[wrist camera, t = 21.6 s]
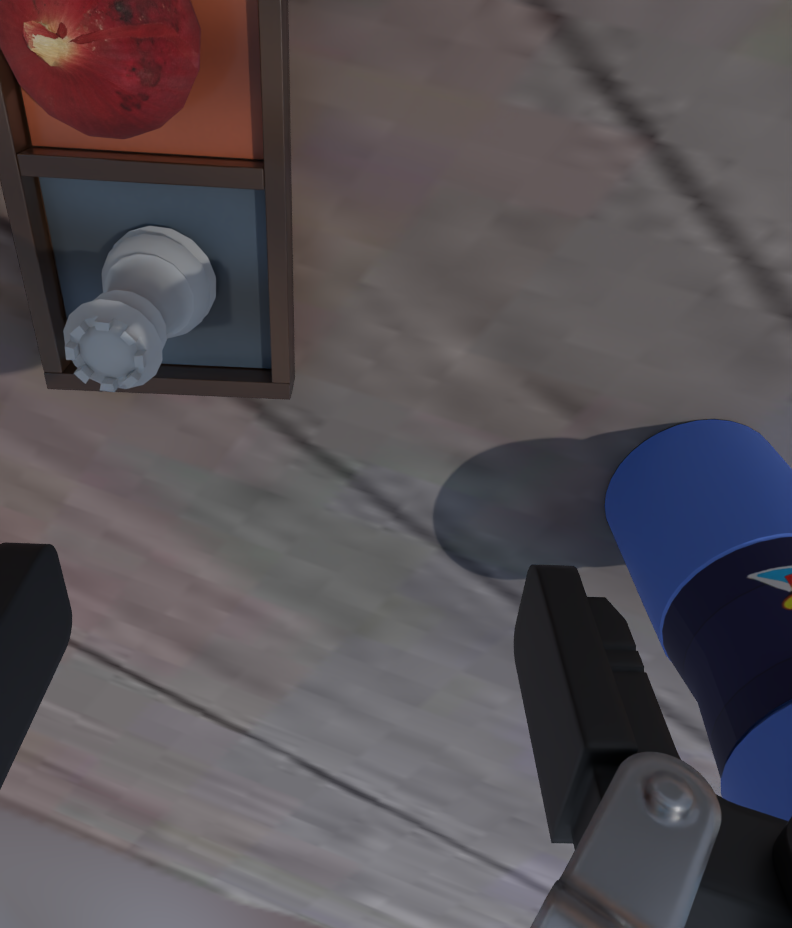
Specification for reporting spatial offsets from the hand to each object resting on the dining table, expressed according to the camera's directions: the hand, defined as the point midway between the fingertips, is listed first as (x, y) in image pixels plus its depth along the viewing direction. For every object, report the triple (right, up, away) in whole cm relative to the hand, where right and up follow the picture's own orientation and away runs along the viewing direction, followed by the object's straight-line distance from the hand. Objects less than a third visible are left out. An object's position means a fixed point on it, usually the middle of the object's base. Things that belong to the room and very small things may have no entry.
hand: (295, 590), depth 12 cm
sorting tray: (-8, +14, +16) cm, 23 cm away
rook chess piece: (-8, +10, +18) cm, 22 cm away
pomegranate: (-7, +18, +13) cm, 23 cm away
